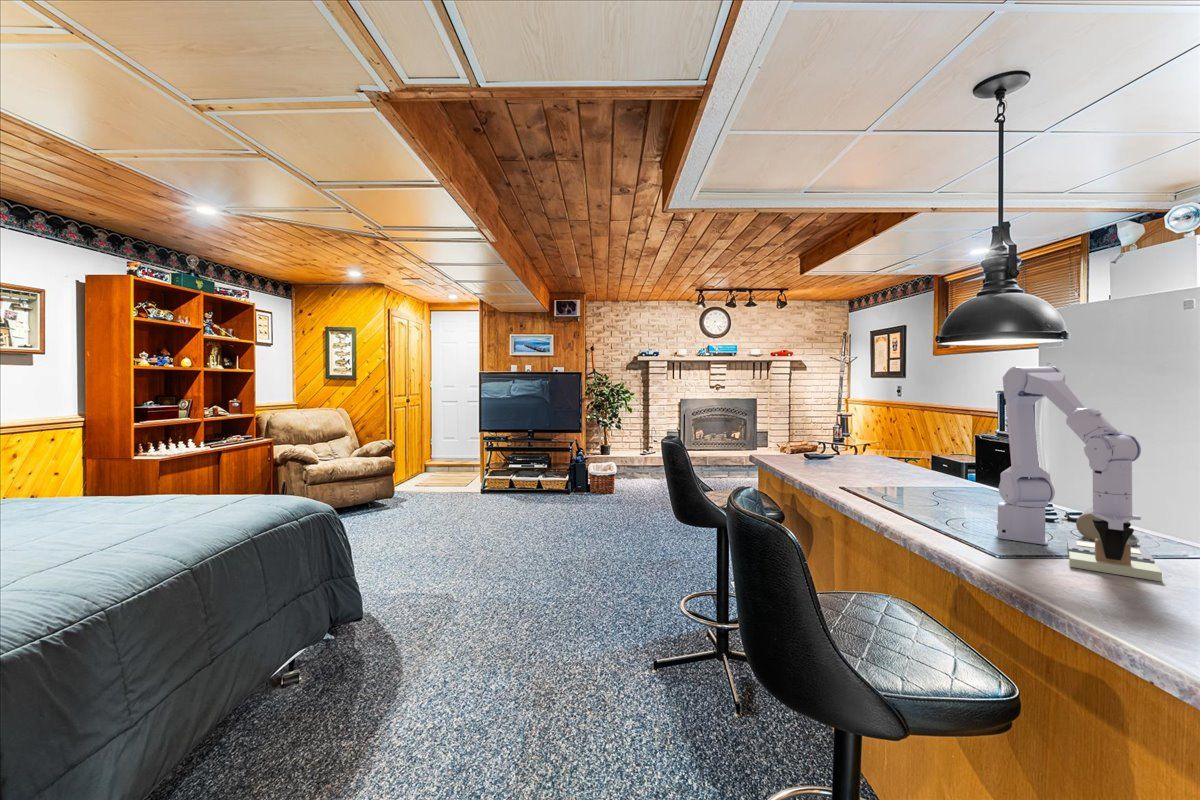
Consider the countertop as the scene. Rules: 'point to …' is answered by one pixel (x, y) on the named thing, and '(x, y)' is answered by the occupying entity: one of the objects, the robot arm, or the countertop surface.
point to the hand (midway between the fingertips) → (1112, 556)
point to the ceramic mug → (1089, 530)
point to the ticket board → (1089, 548)
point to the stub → (1115, 563)
